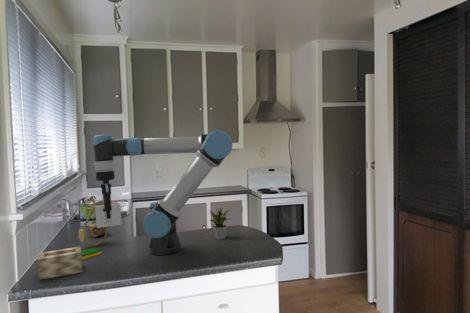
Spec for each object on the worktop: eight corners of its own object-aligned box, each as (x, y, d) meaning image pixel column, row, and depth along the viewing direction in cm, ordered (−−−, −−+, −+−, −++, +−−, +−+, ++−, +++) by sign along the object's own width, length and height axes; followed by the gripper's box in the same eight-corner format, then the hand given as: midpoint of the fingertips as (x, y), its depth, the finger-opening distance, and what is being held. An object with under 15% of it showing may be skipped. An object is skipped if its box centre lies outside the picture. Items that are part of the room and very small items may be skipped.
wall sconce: (86, 250, 179) (82, 200, 178) (78, 247, 186) (74, 199, 185) (112, 243, 189) (109, 196, 188) (104, 241, 196) (100, 194, 195)
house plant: (240, 239, 183) (238, 207, 182) (213, 243, 178) (211, 210, 177) (230, 233, 196) (228, 203, 196) (205, 237, 192) (203, 206, 191)
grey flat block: (120, 223, 161) (119, 203, 160) (121, 224, 158) (120, 204, 158) (96, 226, 157) (95, 205, 156) (97, 228, 154) (95, 206, 154)
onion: (92, 242, 206) (82, 228, 204) (100, 234, 215) (91, 220, 212) (105, 237, 203) (95, 222, 201) (113, 228, 212) (104, 214, 210)
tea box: (95, 226, 236) (94, 203, 235) (80, 226, 236) (78, 204, 235) (104, 220, 251) (102, 199, 250) (89, 221, 251) (88, 200, 250)
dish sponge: (102, 254, 173) (101, 249, 173) (74, 263, 162) (73, 257, 162) (94, 252, 177) (93, 247, 177) (66, 260, 167) (65, 255, 167)
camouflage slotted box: (81, 264, 158) (80, 246, 158) (82, 271, 148) (80, 252, 148) (41, 271, 152) (39, 252, 151) (39, 279, 142) (37, 259, 142)
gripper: (94, 170, 162) (98, 222, 163) (96, 172, 147) (100, 230, 148) (112, 169, 165) (116, 220, 166) (115, 171, 150) (119, 227, 151)
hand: (108, 224), depth 157 cm, fingers closed on grey flat block, 3 cm apart
